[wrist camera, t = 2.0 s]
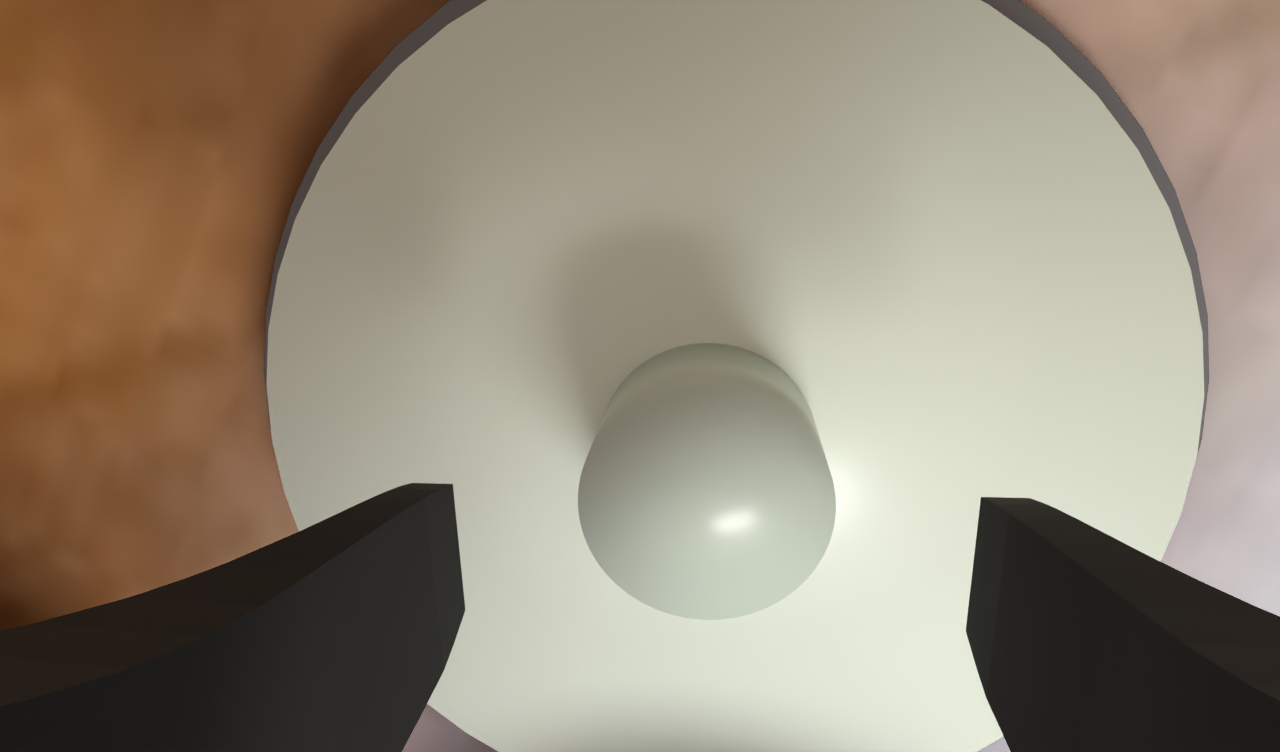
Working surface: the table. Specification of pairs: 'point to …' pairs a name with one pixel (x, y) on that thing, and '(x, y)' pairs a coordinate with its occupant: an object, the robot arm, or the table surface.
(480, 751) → the table surface
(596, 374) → the lid
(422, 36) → the mat
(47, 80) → the table surface
